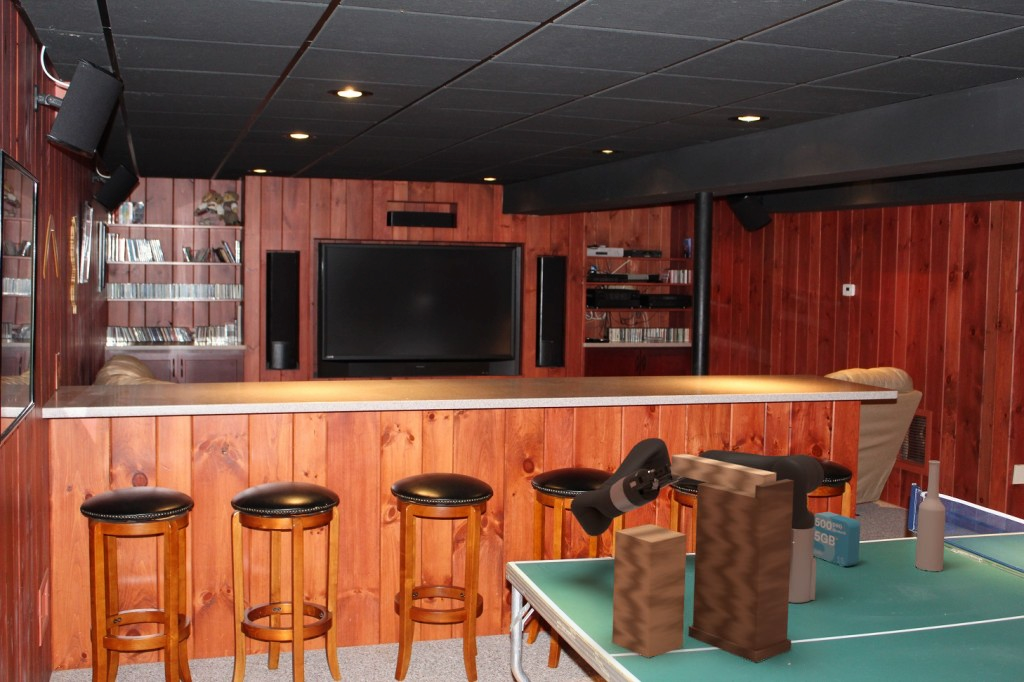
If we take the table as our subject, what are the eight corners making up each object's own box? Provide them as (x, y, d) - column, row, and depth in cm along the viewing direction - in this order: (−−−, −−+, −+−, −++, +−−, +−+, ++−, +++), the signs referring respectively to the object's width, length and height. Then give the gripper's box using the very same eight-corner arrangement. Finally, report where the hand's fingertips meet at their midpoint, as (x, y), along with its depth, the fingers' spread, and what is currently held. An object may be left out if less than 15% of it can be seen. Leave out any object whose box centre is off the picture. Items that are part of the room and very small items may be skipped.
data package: (810, 556, 263) (812, 512, 262) (822, 554, 265) (824, 510, 264) (847, 568, 253) (849, 522, 252) (858, 566, 255) (861, 520, 254)
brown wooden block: (671, 473, 211) (671, 455, 211) (683, 471, 214) (684, 453, 213) (763, 495, 192) (763, 475, 192) (775, 492, 195) (776, 473, 195)
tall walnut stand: (688, 635, 204) (693, 471, 201) (723, 624, 211) (729, 465, 208) (755, 663, 191) (762, 487, 188) (790, 649, 198) (798, 480, 195)
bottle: (912, 568, 254) (918, 461, 251) (918, 562, 259) (924, 457, 257) (939, 573, 250) (945, 465, 248) (945, 567, 255) (951, 461, 253)
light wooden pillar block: (612, 642, 200) (615, 531, 198) (646, 631, 206) (649, 523, 204) (648, 658, 192) (651, 542, 190) (682, 646, 198) (686, 534, 196)
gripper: (606, 479, 219) (653, 453, 208) (650, 471, 228) (698, 446, 217) (617, 511, 217) (666, 486, 205) (661, 502, 226) (710, 478, 214)
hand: (682, 466), depth 211 cm, fingers open, 8 cm apart
